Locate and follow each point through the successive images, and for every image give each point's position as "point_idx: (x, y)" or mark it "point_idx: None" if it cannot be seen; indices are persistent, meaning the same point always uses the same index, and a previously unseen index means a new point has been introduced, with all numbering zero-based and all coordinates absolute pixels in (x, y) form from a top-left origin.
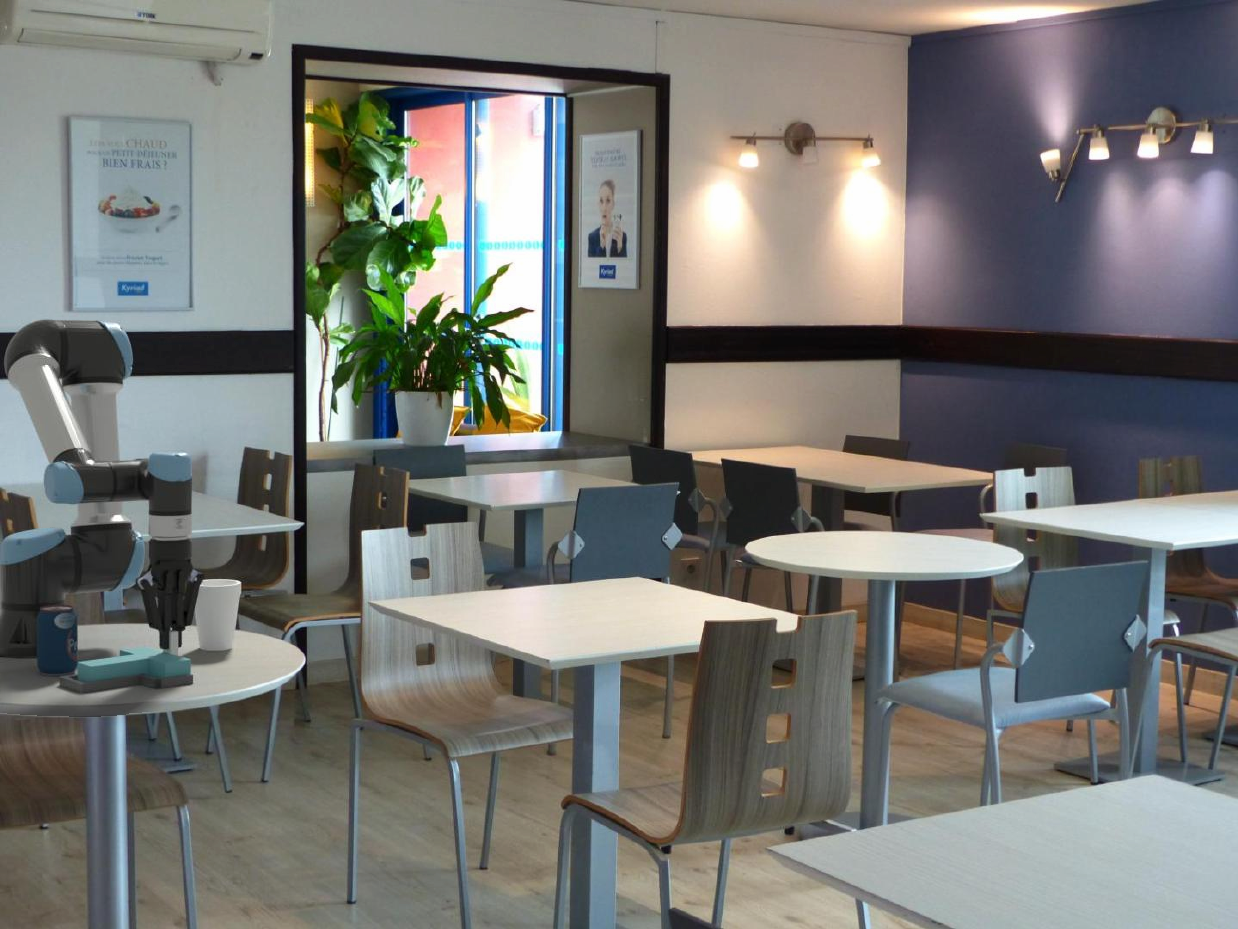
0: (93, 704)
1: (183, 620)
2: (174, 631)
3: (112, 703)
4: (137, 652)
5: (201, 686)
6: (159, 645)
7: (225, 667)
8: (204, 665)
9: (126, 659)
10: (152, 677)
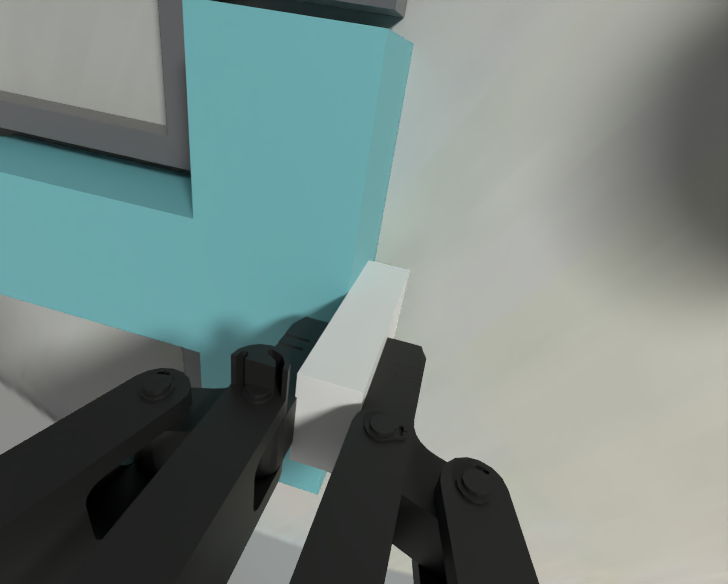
0: (8, 381)
1: (412, 548)
2: (328, 460)
3: (49, 410)
4: (227, 189)
5: (323, 481)
6: (290, 327)
7: (659, 383)
8: (658, 272)
9: (107, 288)
10: (198, 387)
